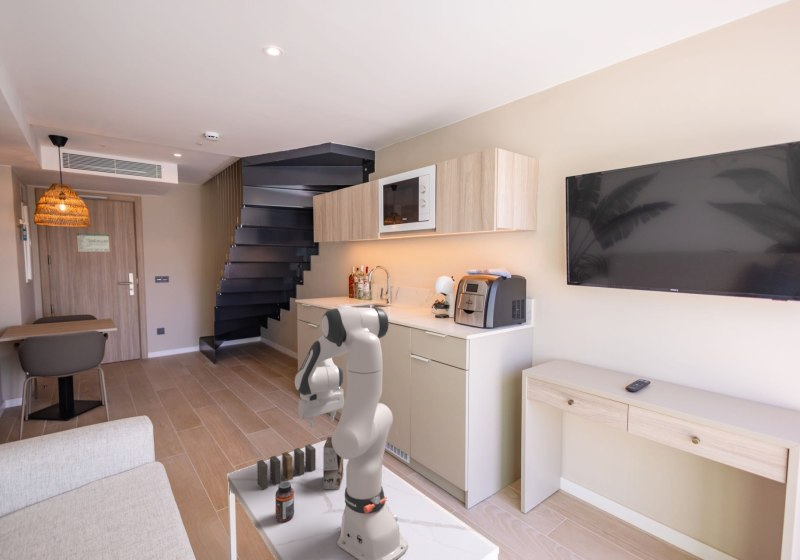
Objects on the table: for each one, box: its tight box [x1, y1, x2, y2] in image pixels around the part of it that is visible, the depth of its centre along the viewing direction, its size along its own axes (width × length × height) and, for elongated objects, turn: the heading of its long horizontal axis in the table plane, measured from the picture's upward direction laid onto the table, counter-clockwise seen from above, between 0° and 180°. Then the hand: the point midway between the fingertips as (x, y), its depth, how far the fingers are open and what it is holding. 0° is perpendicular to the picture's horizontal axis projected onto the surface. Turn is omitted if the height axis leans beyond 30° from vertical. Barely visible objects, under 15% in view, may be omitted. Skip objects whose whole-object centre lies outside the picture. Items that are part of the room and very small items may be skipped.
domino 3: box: [281, 451, 294, 482], centre depth 155 cm, size 5×2×9 cm, turn 40°
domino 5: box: [304, 443, 317, 473], centre depth 162 cm, size 5×2×9 cm, turn 41°
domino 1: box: [256, 459, 269, 491], centre depth 149 cm, size 5×2×9 cm, turn 41°
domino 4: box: [293, 447, 305, 477], centre depth 159 cm, size 5×2×9 cm, turn 40°
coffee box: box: [322, 436, 344, 490], centre depth 152 cm, size 9×6×16 cm
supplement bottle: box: [274, 480, 295, 523], centre depth 131 cm, size 6×6×11 cm
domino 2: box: [269, 455, 282, 486], centre depth 152 cm, size 5×2×9 cm, turn 40°
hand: (322, 423), depth 165 cm, fingers open, 8 cm apart
